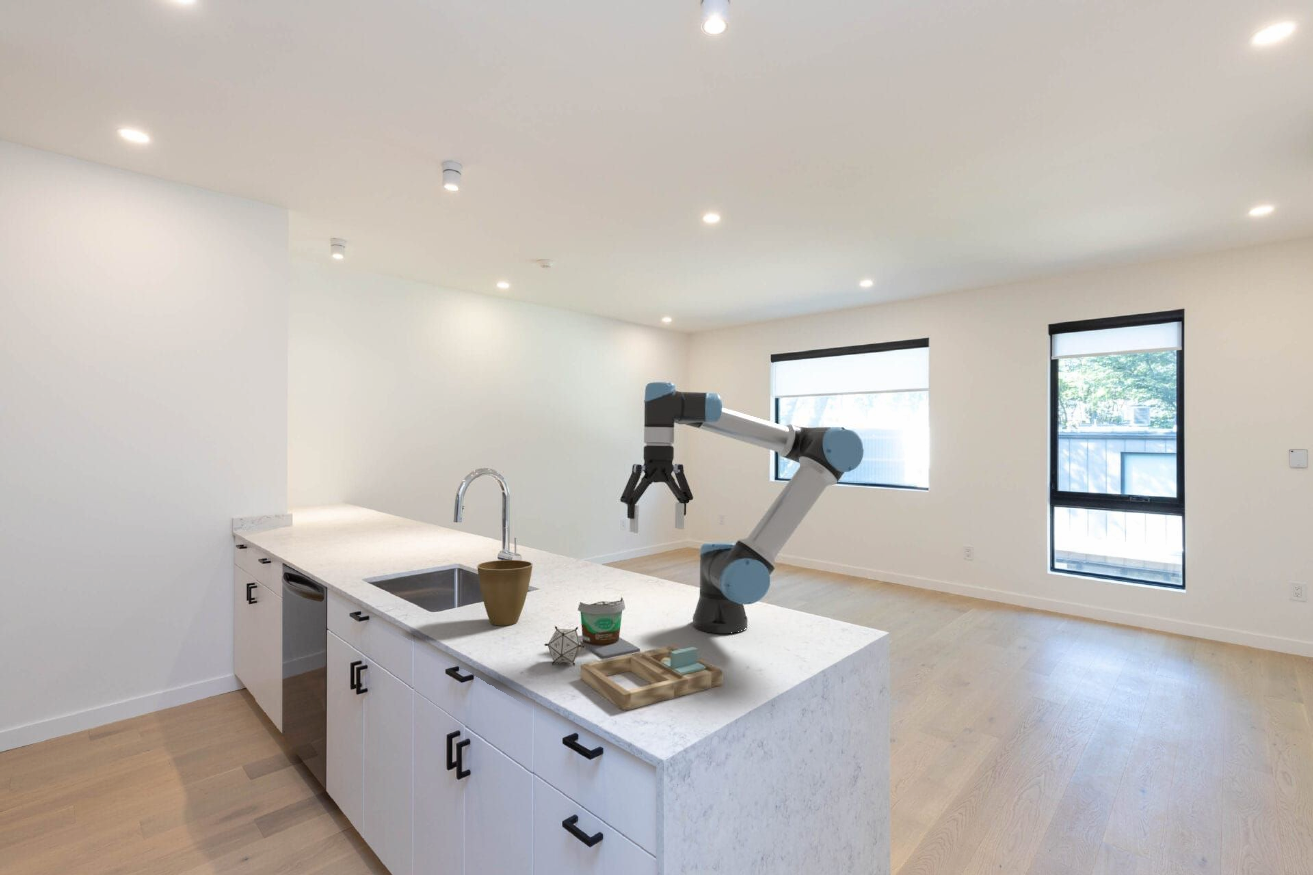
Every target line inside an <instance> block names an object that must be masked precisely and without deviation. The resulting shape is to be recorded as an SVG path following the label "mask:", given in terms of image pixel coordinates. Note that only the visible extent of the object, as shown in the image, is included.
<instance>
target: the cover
mask: <svg viewBox="0 0 1313 875" xmlns="http://www.w3.org/2000/svg"><path fill="white" fill-rule="evenodd" d="M680 649H681V650H676V651H671V656H670V661H666V662H662V663H663V664H664V665H666V666H668V667H670V668H671V669H673V670H675V671H677V672H679V673H680V674H682V675H684V674H688V673H692V672H696V671H700V670H704V669H706V666H704V665H702V664H700V663H698V662H697V658H698V653H699V652H698V648H697V647H695V646H690V647H686V648H680Z"/></svg>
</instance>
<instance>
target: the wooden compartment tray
mask: <svg viewBox="0 0 1313 875" xmlns="http://www.w3.org/2000/svg"><path fill="white" fill-rule="evenodd" d="M681 649H682V648H679V647H677V646H675V645H670V646H664V647H659V648H655V649H654V648H653V649H650V650H645V651H638V652H633V653H629V654H624V655H619V656H614V657H609V658H604V659H601V660H596V661H592V662H587V663H581V664H580V680H582V681H583V682H584V683H585V684H587V685H588V686H589V687H591V688H592V689H593V688H594V689H593V690H595V691H596V692H598V693H599V694H600V695H602V696H603V697H604V698H606V699H607V700H608V699H609V700H608V701H610V702H611V703H612V704H614V705H615V706H616V707H617V708H619V709H621V710H622V711H624V712H625V711H629V710H633V709H637V708H641V707H644V706H647V705H650V704H651V705H652V704H655V703H659V702H662V701H666V700H670V699H674V698H677V697H682V696H685V695H688V694H693V693H696V692H701V691H704V690H708V689H711V688H716V687H719V686H723V673H724V672H723V671H724V670H723V669H721V668H719V667H717V666H715V665H712V664H711V663H709V662H707V661H704V660H703V659H701V658H699V657H697V662H698V663H700V664H702V665H704V666H706V669H704V670H700V671H696V672H692V673H688V674H684V675H682V674H680V673H679V672H677V671H675V670H673V669H671V668H670V667H668V666H666V665H664V664H663V663H661V662H660V661H661V660H662V659H663V658H670V656H671V651H676V650H681ZM626 672H632V673H633V674H635V675H636V676H639V677H640V678H641V679H643V680H645V681H646V682H648V683H650V684H648V685H643V686H639V687H636V688H635V687H634V688H631V689H625V688H624V687H623V686H621V685H620V684H618V683H616V682H615V681H614V680H612V679H611V678H609V677H608V676H612V675H617V674H621V673H626Z"/></svg>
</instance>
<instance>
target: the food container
mask: <svg viewBox="0 0 1313 875" xmlns="http://www.w3.org/2000/svg"><path fill="white" fill-rule="evenodd" d="M625 609H626V604H625V601H624V598H623V597H622V596H621V597H620V600H616V601H604V600H603V601H597V602H594V603H590V604H589V603H584V602H581V601H579V604H578V608H577V611H578V612H580V621H581V622H580V623H581V635H582V638H583V642H584V643H586V644H590V645H597V646H604V645H611V644H614V643H616V642H618V641H619V637H620V632H621V627H622V626H621V623H622V615H623V611H624V610H625Z"/></svg>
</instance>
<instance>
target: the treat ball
mask: <svg viewBox="0 0 1313 875" xmlns="http://www.w3.org/2000/svg"><path fill="white" fill-rule="evenodd" d="M666 661H670V658H663V659H662V660H661V661H660V662H661V663H662V662H666Z"/></svg>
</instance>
